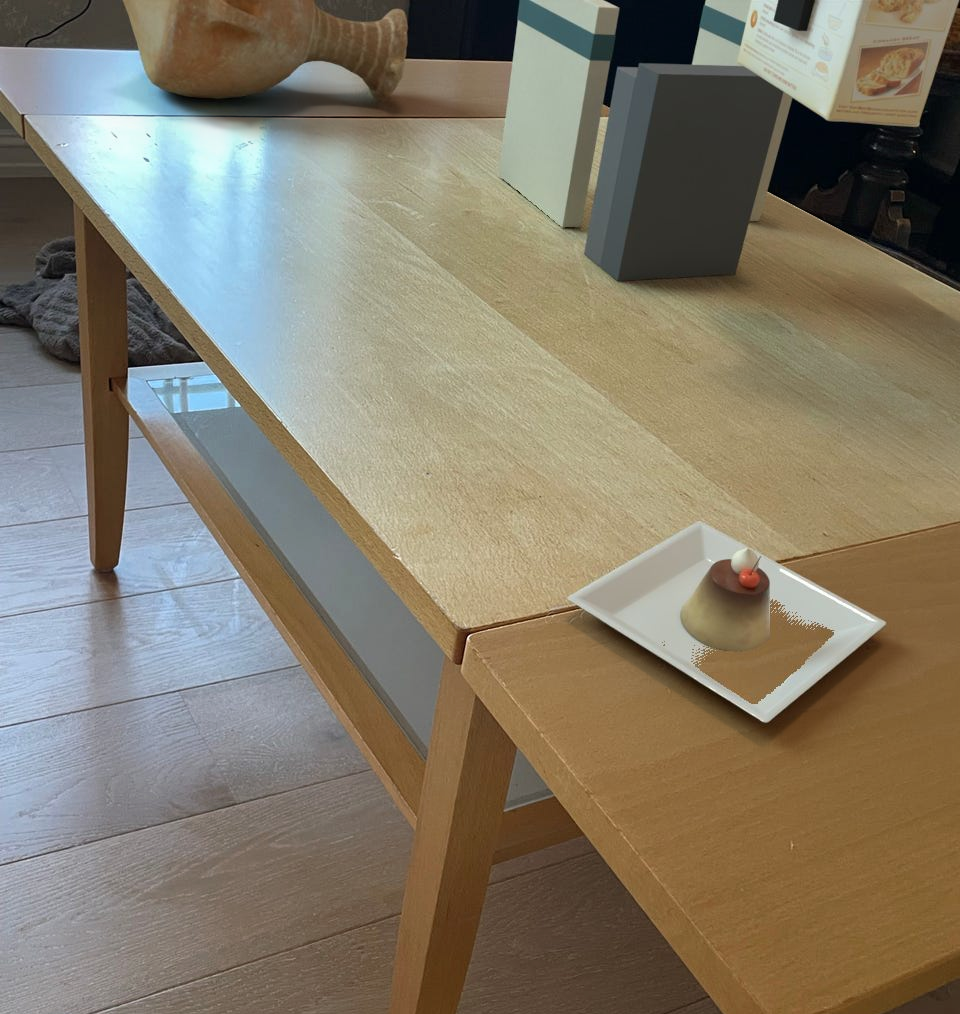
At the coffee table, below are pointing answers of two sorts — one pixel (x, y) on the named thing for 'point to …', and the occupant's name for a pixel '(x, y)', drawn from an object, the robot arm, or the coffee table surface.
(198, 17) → the jug
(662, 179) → the grey books
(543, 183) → the cream books
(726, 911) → the coffee table surface
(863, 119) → the coffeecake box
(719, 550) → the dessert
